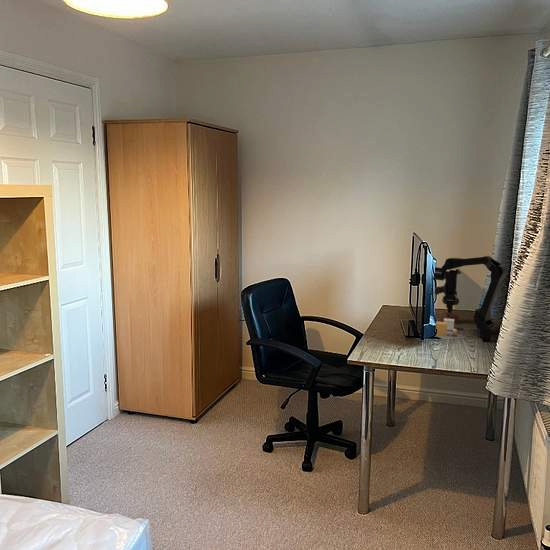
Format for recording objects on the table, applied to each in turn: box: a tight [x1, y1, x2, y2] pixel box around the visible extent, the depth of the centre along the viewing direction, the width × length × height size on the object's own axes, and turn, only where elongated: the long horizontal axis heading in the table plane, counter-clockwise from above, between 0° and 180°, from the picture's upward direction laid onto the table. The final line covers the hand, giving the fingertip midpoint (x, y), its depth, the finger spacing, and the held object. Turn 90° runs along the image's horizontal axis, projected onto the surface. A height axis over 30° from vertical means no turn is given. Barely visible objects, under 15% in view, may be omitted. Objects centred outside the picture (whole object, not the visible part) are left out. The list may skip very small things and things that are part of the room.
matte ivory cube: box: [444, 318, 455, 331], centre depth 302 cm, size 5×5×6 cm
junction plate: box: [435, 328, 466, 340], centre depth 288 cm, size 14×14×5 cm
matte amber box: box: [435, 321, 448, 336], centre depth 288 cm, size 5×5×6 cm
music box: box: [439, 297, 460, 325], centre depth 324 cm, size 15×11×20 cm
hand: (449, 310), depth 296 cm, fingers open, 9 cm apart
